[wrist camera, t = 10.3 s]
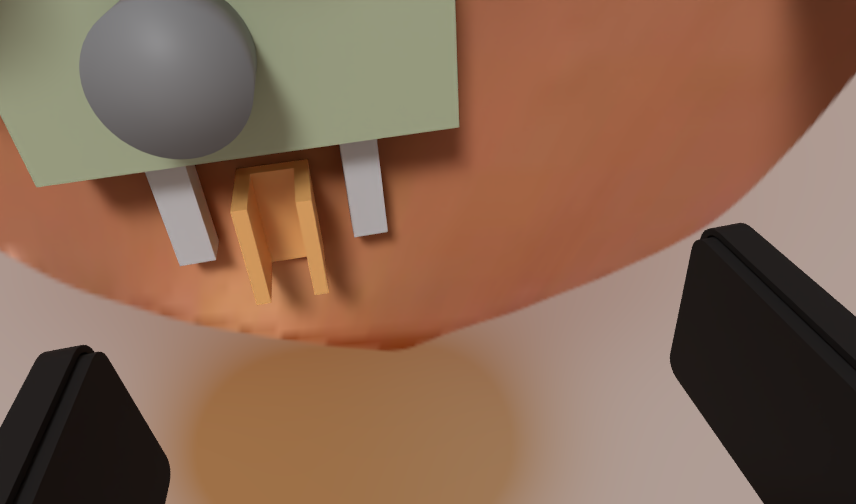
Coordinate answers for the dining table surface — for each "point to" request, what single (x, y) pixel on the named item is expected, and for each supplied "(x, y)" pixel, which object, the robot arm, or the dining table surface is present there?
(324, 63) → the green plate with pegs
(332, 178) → the dining table surface
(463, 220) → the dining table surface
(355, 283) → the dining table surface
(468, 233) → the dining table surface
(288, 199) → the chute
